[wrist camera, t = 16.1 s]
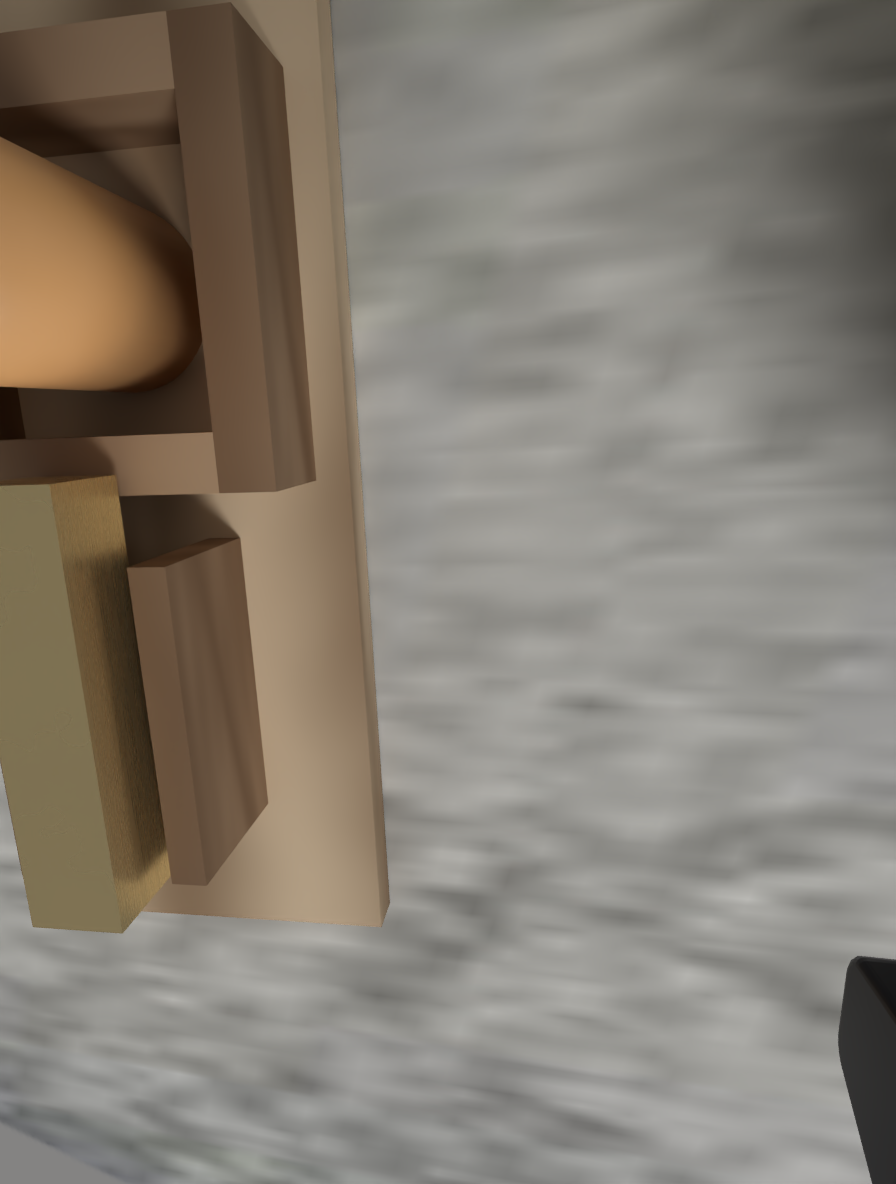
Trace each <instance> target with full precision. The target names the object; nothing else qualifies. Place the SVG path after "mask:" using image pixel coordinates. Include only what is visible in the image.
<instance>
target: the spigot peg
mask: <svg viewBox="0 0 896 1184" xmlns="http://www.w3.org/2000/svg"><path fill="white" fill-rule="evenodd" d="M201 343H202V332H201V323H200V314H199V305H198V296H197V287H196V278H195V269H194V260H193V251H192V249H191V247H190V246H189V245H188V243H187V242H186V241H185V239H184V238H183V237H182V236H181V235H180V233H179V232H178V231H177V230H176V229H175V228H174V227H172V226H171V225H170V224H169V223H168V222H166V221H165V220H164V219H162V218H160V217H159V216H157V215H156V214H154V213H152V212H150V211H148V210H146V209H144V208H142V207H140V206H138V205H136V204H134V203H132V202H130V201H128V200H126V199H124V198H122V197H120V196H118V195H116V194H114V193H112V192H110V191H108V190H106V189H104V188H102V187H100V186H98V185H96V184H94V183H92V182H90V181H88V180H86V179H84V178H82V177H80V176H78V175H76V174H74V173H72V172H70V171H68V170H66V169H64V168H62V167H60V166H58V165H56V164H54V163H52V162H50V161H48V160H46V159H44V158H42V157H40V156H38V155H36V154H34V153H32V152H30V151H28V150H26V149H24V148H22V147H20V146H18V145H16V144H14V143H12V142H10V141H8V140H6V139H4V138H2V137H0V387H20V388H41V389H62V390H83V391H104V392H125V393H138V392H146V391H150V390H154V389H157V388H159V387H161V386H164V385H166V384H168V383H169V382H171V381H172V380H174V379H175V378H176V377H178V376H179V375H180V374H181V373H182V372H183V371H184V370H185V369H186V368H187V367H188V365H189V364H190V363H191V362H192V360H193V359H194V357H195V355H196V354H197V352H198V350H199V348H200V345H201Z"/></svg>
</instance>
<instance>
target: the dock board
mask: <svg viewBox="0 0 896 1184" xmlns="http://www.w3.org/2000/svg"><path fill="white" fill-rule="evenodd" d="M0 137H2V138H4V139H6V140H8V141H10V142H12V143H14V144H16V145H18V146H20V147H22V148H24V149H26V150H28V151H30V152H32V153H34V154H36V155H38V156H40V157H42V158H44V159H46V160H48V161H50V162H52V163H54V164H56V165H58V166H60V167H62V168H64V169H66V170H68V171H70V172H72V173H74V174H76V175H78V176H80V177H82V178H84V179H86V180H88V181H90V182H92V183H94V184H96V185H98V186H100V187H102V188H104V189H106V190H108V191H110V192H112V193H114V194H116V195H118V196H120V197H122V198H124V199H126V200H128V201H130V202H132V203H134V204H136V205H138V206H140V207H142V208H144V209H146V210H148V211H150V212H152V213H154V214H156V215H157V216H159V217H160V218H162V219H164V220H165V221H166V222H168V223H169V224H170V225H171V226H172V227H174V228H175V229H176V230H177V231H178V232H179V233H180V235H181V236H182V237H183V238H184V239H185V241H186V242H187V243H188V245H189V246H190V247H191V249H192V251H193V260H194V269H195V278H196V287H197V296H198V305H199V314H200V323H201V332H202V343H201V345H200V348H199V350H198V352H197V354H196V355H195V357H194V359H193V360H192V362H191V363H190V364H189V365H188V367H187V368H186V369H185V370H184V371H183V372H182V373H181V374H180V375H179V376H178V377H176V378H175V379H174V380H172V381H171V382H169V383H168V384H166V385H164V386H161V387H159V388H157V389H154V390H150V391H146V392H138V393H125V392H104V391H83V390H62V389H41V388H20V387H0V481H3V480H11V479H19V478H31V477H64V476H96V475H116V480H117V487H118V494H119V501H120V508H121V515H122V522H123V529H124V536H125V543H126V550H127V557H128V564H129V567H127V573H128V580H129V587H130V594H131V601H132V608H133V615H134V622H135V629H136V636H137V643H138V650H139V657H140V664H141V671H142V678H143V685H144V692H145V699H146V706H147V713H148V720H149V727H150V734H151V741H152V748H153V755H154V762H155V769H156V776H157V783H158V790H159V797H160V804H161V811H162V818H163V825H164V832H165V839H166V846H167V853H168V860H169V867H170V874H171V876H170V878H169V879H168V880H167V881H166V882H165V883H164V885H163V886H162V887H161V888H160V889H159V891H158V892H157V893H156V894H155V895H154V897H153V898H152V899H151V900H150V901H149V903H148V904H147V905H146V906H145V907H144V908H143V910H142V911H146V912H161V913H176V914H191V915H206V916H222V917H237V918H252V919H267V920H282V921H297V922H313V923H328V924H343V925H358V926H373V927H382V924H383V921H384V918H385V915H386V912H387V909H388V907H389V904H390V900H389V885H388V870H387V854H386V839H385V824H384V809H383V794H382V779H381V764H380V749H379V734H378V719H377V704H376V689H375V674H374V659H373V644H372V629H371V614H370V599H369V584H368V569H367V554H366V539H365V524H364V509H363V494H362V479H361V464H360V449H359V434H358V419H357V403H356V388H355V373H354V358H353V343H352V328H351V313H350V298H349V283H348V268H347V253H346V238H345V223H344V208H343V193H342V178H341V163H340V148H339V133H338V118H337V103H336V88H335V73H334V58H333V43H332V28H331V13H330V0H0ZM0 763H1V761H0ZM1 768H2V766H1ZM2 773H3V771H2ZM3 778H4V776H3ZM4 783H5V781H4ZM5 788H6V786H5ZM6 794H7V791H6ZM7 799H8V797H7ZM8 804H9V802H8ZM9 809H10V807H9ZM10 814H11V812H10ZM11 819H12V817H11ZM12 824H13V822H12ZM13 830H14V827H13ZM14 835H15V833H14ZM15 840H16V838H15ZM16 845H17V843H16ZM17 850H18V848H17ZM18 855H19V853H18ZM19 860H20V858H19ZM20 865H21V863H20ZM21 871H22V868H21ZM22 875H23V874H22Z"/></svg>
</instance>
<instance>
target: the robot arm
mask: <svg viewBox="0 0 896 1184" xmlns="http://www.w3.org/2000/svg"><path fill="white" fill-rule="evenodd" d="M838 1046H839V1055H840V1061H841V1066H842V1070H843V1074H844V1077H845V1081H846V1085H847V1089H848V1093H849V1097H850V1100H851V1104H852V1108H853V1112H854V1116H855V1120H856V1123H857V1127H858V1131H859V1135H860V1139H861V1143H862V1146H863V1150H864V1154H865V1158H866V1162H867V1166H868V1169H869V1173H870V1177H871V1181H872V1184H896V960H894V959H884V958H874V957H865V956H857V957H855V958H854V959H852V960H851V962H850V964H849V966H848V968H847V973H846V981H845V988H844V995H843V1002H842V1010H841V1017H840V1024H839V1032H838Z"/></svg>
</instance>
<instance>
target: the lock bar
mask: <svg viewBox="0 0 896 1184" xmlns="http://www.w3.org/2000/svg"><path fill="white" fill-rule="evenodd" d="M127 567H129V564H128V557H127V550H126V543H125V536H124V529H123V522H122V515H121V508H120V501H119V494H118V487H117V480H116V475H96V476H64V477H31V478H19V479H11V480H3V481H0V761H1V766H2V771H3V776H4V781H5V786H6V791H7V797H8V802H9V807H10V812H11V817H12V822H13V827H14V833H15V838H16V843H17V848H18V853H19V858H20V863H21V868H22V874H23V879H24V884H25V889H26V894H27V899H28V904H29V910H30V915H31V920H32V925H33V927H39V928H53V929H67V930H82V931H96V932H110V933H123V932H124V931H125V930H126V929H127V927H128V926H129V925H130V924H131V923H132V922H133V920H134V919H135V918H136V917H137V916H138V914H139V913H140V912H141V911H142V910H143V908H144V907H145V906H146V905H147V904H148V903H149V901H150V900H151V899H152V898H153V897H154V895H155V894H156V893H157V892H158V891H159V889H160V888H161V887H162V886H163V885H164V883H165V882H166V881H167V880H168V879H169V878H170V876H171V874H170V867H169V860H168V853H167V846H166V839H165V832H164V825H163V818H162V811H161V804H160V797H159V790H158V783H157V776H156V769H155V762H154V755H153V748H152V741H151V734H150V727H149V720H148V713H147V706H146V699H145V692H144V685H143V678H142V671H141V664H140V657H139V650H138V643H137V636H136V629H135V622H134V615H133V608H132V601H131V594H130V587H129V580H128V573H127Z"/></svg>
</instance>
